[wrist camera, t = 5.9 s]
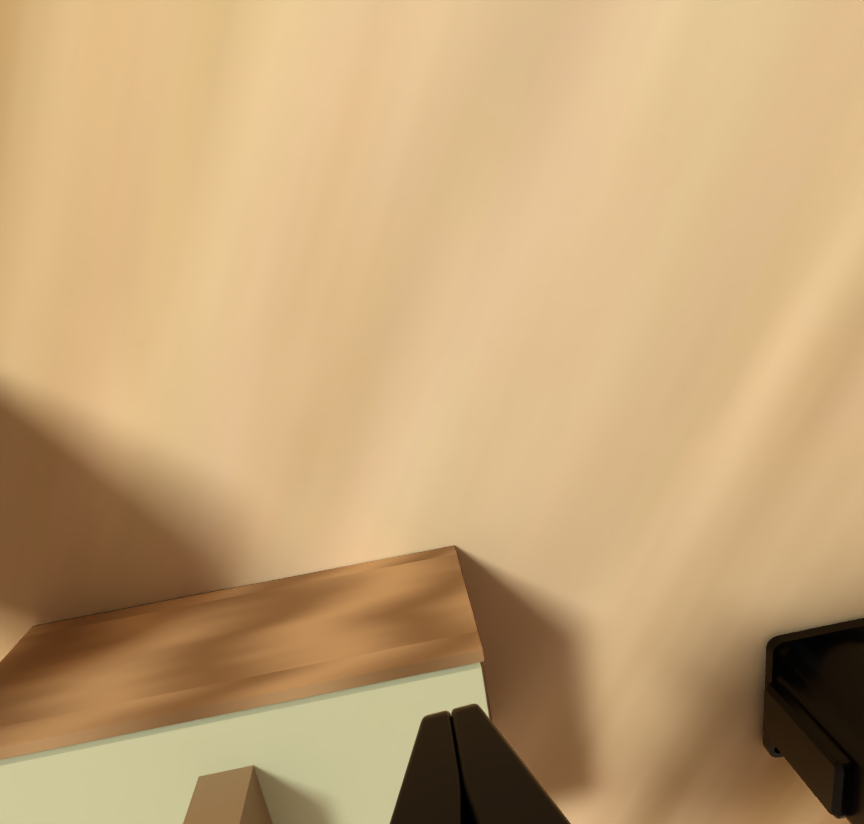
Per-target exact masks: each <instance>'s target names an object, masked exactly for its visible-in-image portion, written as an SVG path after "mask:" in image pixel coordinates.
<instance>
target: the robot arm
mask: <svg viewBox="0 0 864 824" xmlns="http://www.w3.org/2000/svg"><path fill="white" fill-rule="evenodd" d="M763 731H764V737H763V745H764V747H765V749H766V750H767V751H768V753H769V754H770V755H771V756H772V757H782V756H784V757H785V759H786V760H787V761H788V762H789V764H790V765H791V766H792V767H793V769H794V770H795V771H796V772H797V773H798V775H799V776H800V777H801V778H802V780H803V781H804V782H805V783H806V785H807V786H808V787H809V788H810V790H811V791H812V792H813V793H814V795H815V796H816V797H817V798H818V799H819V801H820V802H821V803H822V804H823V806H824V807H825V808H826V809H827V811H828V812H829V813H830V814H832V815H833V816H835V817H836V818H838V819H840V818H844V817H846V818H847V820H848V821H849V822H850V823H851V824H864V618H862V619H857V620H852V621H847V622H842V623H838V624H833V625H828V626H823V627H818V628H813V629H808V630H804V631H799V632H794V633H789V634H784V635H779V636H776V637H773V638H772V639H771V640H770V641H769V642H768V644H767V647H766V675H765V690H764V720H763ZM390 824H571V823H570V822H569V821H568V820H567V818H566V817H565V816H564V814H563V813H562V812H561V810H560V809H559V808H558V807H557V805H556V804H555V803H554V801H553V800H552V799H551V798H550V796H549V795H548V794H547V792H546V791H545V790H544V788H543V787H542V786H541V785H540V783H539V782H538V781H537V779H536V778H535V777H534V776H533V774H532V773H531V772H530V770H529V769H528V768H527V767H526V765H525V764H524V763H523V761H522V760H521V759H520V757H519V756H518V755H517V754H516V752H515V751H514V750H513V748H512V747H511V746H510V745H509V743H508V742H507V741H506V739H505V738H504V737H503V735H502V734H501V733H500V732H499V730H498V729H497V728H496V726H495V725H494V724H493V723H492V721H491V720H490V719H489V717H488V716H487V715H486V713H485V712H484V711H483V710H482V708H481V707H480V706H479V705H478V704H470V705H466V706H462V707H458V708H454V709H453V710H452V712H451V714H450V712H449V711H441V712H437V713H433V714H429V715H426V716H424V717H423V719H422V721H421V723H420V726H419V730H418V733H417V736H416V739H415V743H414V746H413V749H412V752H411V756H410V759H409V762H408V765H407V769H406V772H405V775H404V778H403V782H402V785H401V788H400V791H399V795H398V798H397V801H396V804H395V808H394V811H393V814H392V817H391V821H390Z"/></svg>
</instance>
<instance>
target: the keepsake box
mask: <svg viewBox="0 0 864 824" xmlns="http://www.w3.org/2000/svg"><path fill="white" fill-rule="evenodd" d="M483 661H484V655H483V649H482V645H481V641H480V638H479V634H478V630H477V627H476V623H475V619H474V616H473V612H472V608H471V604H470V601H469V597H468V593H467V590H466V586H465V582H464V579H463V575H462V571H461V568H460V564H459V560H458V556H457V553H456V549H455V546H450V547H444V548H439V549H434V550H429V551H424V552H418V553H413V554H408V555H403V556H398V557H392V558H387V559H382V560H377V561H371V562H366V563H361V564H356V565H351V566H345V567H340V568H335V569H330V570H325V571H319V572H314V573H309V574H304V575H298V576H293V577H288V578H283V579H278V580H272V581H267V582H262V583H257V584H252V585H246V586H241V587H236V588H231V589H225V590H220V591H215V592H210V593H205V594H199V595H194V596H189V597H184V598H179V599H173V600H168V601H163V602H158V603H152V604H147V605H142V606H137V607H132V608H126V609H121V610H116V611H111V612H106V613H100V614H95V615H90V616H85V617H79V618H74V619H69V620H64V621H59V622H53V623H48V624H43V625H38V626H33V627H32V628H31V629H30V630H29V631H28V632H27V633H26V634H25V635H24V637H23V638H22V639H21V640H20V641H19V642H18V643H17V644H16V645H15V647H14V648H13V649H12V650H11V651H10V652H9V653H8V654H7V655H6V656H5V658H4V659H3V660H2V661H1V662H0V760H1V759H6V758H11V757H16V756H21V755H26V754H31V753H36V752H40V751H45V750H50V749H55V748H60V747H65V746H70V745H75V744H80V743H85V742H90V741H95V740H99V739H104V738H109V737H114V736H119V735H124V734H129V733H134V732H139V731H144V730H149V729H154V728H158V727H163V726H168V725H173V724H178V723H183V722H188V721H193V720H198V719H203V718H208V717H213V716H217V715H222V714H227V713H232V712H237V711H242V710H247V709H252V708H257V707H262V706H267V705H272V704H276V703H281V702H286V701H291V700H296V699H301V698H306V697H311V696H316V695H321V694H326V693H331V692H335V691H340V690H345V689H350V688H355V687H360V686H365V685H370V684H375V683H380V682H385V681H390V680H394V679H399V678H404V677H409V676H414V675H419V674H424V673H429V672H434V671H439V670H444V669H449V668H454V667H458V666H463V665H468V664H473V663H478V662H480V664H481V668H482V675H483V681H484V687H485V694H486V700H487V707H488V713H489V719H490V720H491V721H492V719H491V713H490V707H489V700H488V694H487V687H486V681H485V675H484V668H483Z"/></svg>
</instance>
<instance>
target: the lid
mask: <svg viewBox="0 0 864 824" xmlns="http://www.w3.org/2000/svg"><path fill="white" fill-rule="evenodd" d="M470 704H478V705H479V706H480V707H481V708H482V710H483V711H484V712H485V713H486V715H487V716H488V717H489V713H488V707H487V700H486V694H485V687H484V681H483V675H482V668H481V664H480V662H478V663H473V664H468V665H463V666H458V667H454V668H449V669H444V670H439V671H434V672H429V673H424V674H419V675H414V676H409V677H404V678H399V679H394V680H390V681H385V682H380V683H375V684H370V685H365V686H360V687H355V688H350V689H345V690H340V691H335V692H331V693H326V694H321V695H316V696H311V697H306V698H301V699H296V700H291V701H286V702H281V703H276V704H272V705H267V706H262V707H257V708H252V709H247V710H242V711H237V712H232V713H227V714H222V715H217V716H213V717H208V718H203V719H198V720H193V721H188V722H183V723H178V724H173V725H168V726H163V727H158V728H154V729H149V730H144V731H139V732H134V733H129V734H124V735H119V736H114V737H109V738H104V739H99V740H95V741H90V742H85V743H80V744H75V745H70V746H65V747H60V748H55V749H50V750H45V751H40V752H36V753H31V754H26V755H21V756H16V757H11V758H6V759H1V760H0V824H390V821H391V817H392V814H393V811H394V808H395V804H396V801H397V798H398V795H399V791H400V788H401V785H402V782H403V778H404V775H405V772H406V769H407V765H408V762H409V759H410V756H411V752H412V749H413V746H414V743H415V739H416V736H417V733H418V730H419V726H420V723H421V721H422V719H423V717H424V716H426V715H429V714H433V713H437V712H441V711H449V712H450V714H451V712H452V710H453V709H454V708H458V707H462V706H466V705H470Z"/></svg>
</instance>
